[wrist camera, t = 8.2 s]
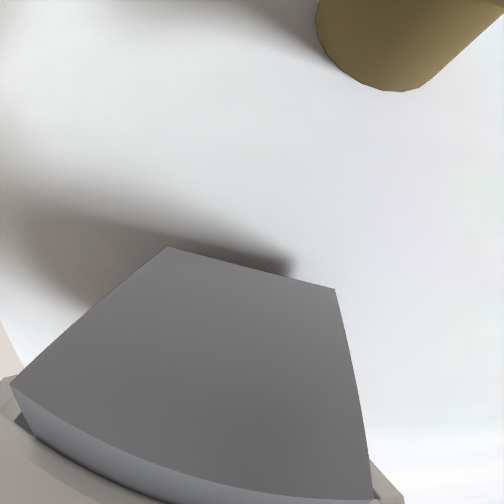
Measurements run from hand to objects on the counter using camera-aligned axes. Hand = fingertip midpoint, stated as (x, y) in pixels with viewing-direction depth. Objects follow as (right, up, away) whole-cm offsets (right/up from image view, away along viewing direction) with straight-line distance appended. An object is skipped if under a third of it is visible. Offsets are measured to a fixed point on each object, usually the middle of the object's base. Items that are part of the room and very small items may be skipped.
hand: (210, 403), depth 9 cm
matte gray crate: (+1, +1, +4) cm, 4 cm away
